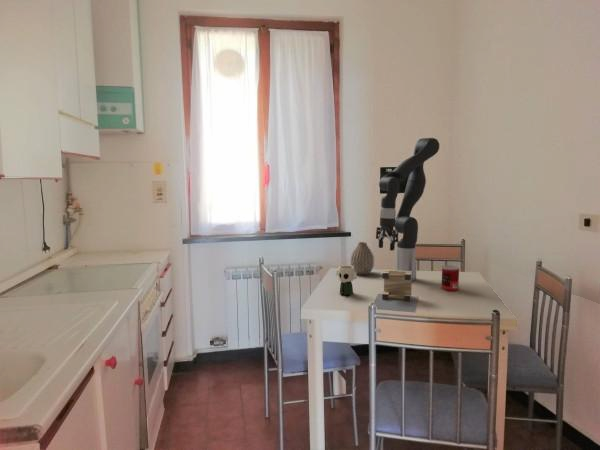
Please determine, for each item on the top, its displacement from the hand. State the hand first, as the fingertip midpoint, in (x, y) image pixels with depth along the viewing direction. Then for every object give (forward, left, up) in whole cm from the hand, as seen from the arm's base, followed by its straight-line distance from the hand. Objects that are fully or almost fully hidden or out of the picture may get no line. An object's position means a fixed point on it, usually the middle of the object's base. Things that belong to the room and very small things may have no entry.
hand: (386, 249), depth 224 cm
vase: (-2, -23, -18) cm, 29 cm away
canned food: (-20, +24, -18) cm, 36 cm away
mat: (+18, +29, -18) cm, 38 cm away
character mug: (+28, +7, -18) cm, 34 cm away
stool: (+13, +25, -17) cm, 33 cm away
